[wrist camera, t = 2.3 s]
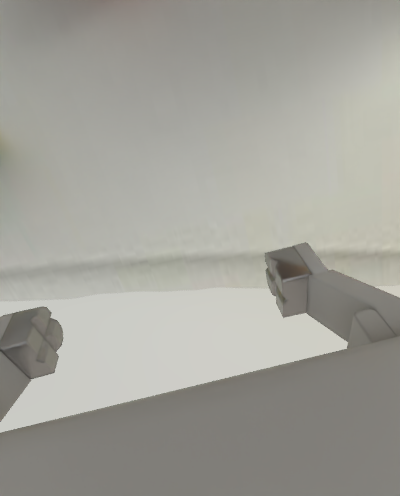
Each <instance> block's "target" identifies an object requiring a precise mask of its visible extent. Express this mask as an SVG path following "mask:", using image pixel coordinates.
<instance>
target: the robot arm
mask: <svg viewBox="0 0 400 496" xmlns="http://www.w3.org/2000/svg"><path fill="white" fill-rule="evenodd" d="M265 262H266V264H267V266H268V268H267V269H266V278H267V282H268V286H269V288H270V290H271V293H272V295H274V296H276V303H277V306H278V308H279V310H280V312H281V314H282V316H283V317H288V316H293V315H298V314H302V313H307V314H308V315H309V316H311V317H312V318H314V319H315V320H317V321H318V322H320V323H321V324H323V325H324V326H325V327H327V328H328V329H330V330H331V331H333V332H334V333H336V334H337V335H338V336H340V337H341V338H343V339H344V340H346V341H347V342H348V346H347V349H344V350H340V351H336V352H332V353H328V354H324V355H320V356H315V357H312V358H307V359H303V360H299V361H295V362H291V363H287V364H282V365H278V366H274V367H270V368H266V369H262V370H257V371H253V372H249V373H246V374H241V375H237V376H233V377H229V378H225V379H221V380H216V381H212V382H208V383H204V384H200V385H196V386H192V387H188V388H184V389H179V390H176V391H171V392H167V393H163V394H159V395H155V396H151V397H147V398H142V399H138V400H134V401H130V402H126V403H122V404H117V405H113V406H109V407H105V408H101V409H97V410H93V411H88V412H84V413H80V414H76V415H72V416H68V417H64V418H59V419H55V420H51V421H48V422H43V423H39V424H35V425H31V426H26V427H22V428H18V429H14V430H10V431H6V432H2V433H0V496H400V298H398V297H397V296H394V295H391V294H389V293H387V292H385V291H382V290H380V289H377V288H375V287H373V286H370V285H368V284H366V283H363V282H361V281H358V280H356V279H354V278H351V277H349V276H346V275H344V274H342V273H339V272H337V271H335V270H329V271H328V269H327V268H326V267H325V265H324V264H323V263H322V261H321V260H320V259H319V257H318V256H317V255H316V254H315V252H314V251H313V250H312V248H311V247H310V246H309V244H308V243H306V242H305V243H301V244H298V245H294V246H292V247H287V248H283V249H279V250H275V251H271V252H267V253H265ZM50 317H51V312H50V311H49V309H48V308H47V307H38V308H34V309H29V310H24V311H20V312H16V313H12V314H7V315H3V316H2V317H0V422H1V420H2V419H3V418H4V416H5V415H6V414H7V412H8V411H9V410H10V408H11V407H12V406H13V404H14V403H15V401H16V400H17V399H18V397H19V396H20V394H21V393H22V392H23V391H24V389H25V388H26V387H27V385H28V384H29V382H30V381H31V380H30V379H34V378H37V377H41V376H45V375H48V374H52V373H54V372H55V368H56V364H57V361H58V357H59V356H58V354H57V353H56V351H57V350H58V349H59V348H60V347H61V345H62V341H63V331H62V327H61V325H60V324H59V322H58V321H57V320H55V319H52V318H50Z"/></svg>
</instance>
